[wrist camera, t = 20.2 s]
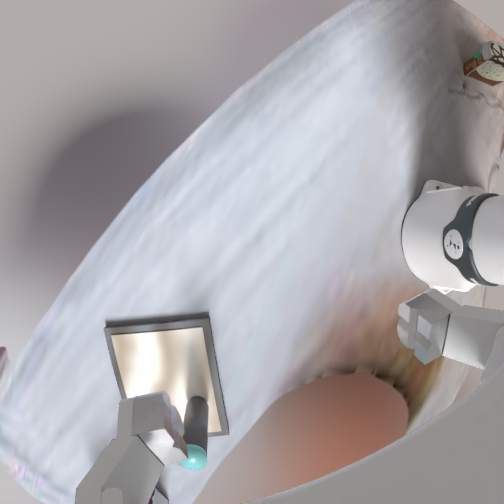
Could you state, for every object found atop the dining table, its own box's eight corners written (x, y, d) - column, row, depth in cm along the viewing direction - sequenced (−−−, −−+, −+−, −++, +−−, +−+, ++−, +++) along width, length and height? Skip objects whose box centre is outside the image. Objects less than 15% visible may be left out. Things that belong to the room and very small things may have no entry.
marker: (207, 393, 41) (203, 448, 28) (210, 411, 41) (209, 469, 28) (184, 395, 41) (174, 450, 28) (189, 413, 41) (180, 470, 28)
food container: (488, 65, 45) (515, 50, 35) (496, 89, 46) (525, 75, 36) (452, 50, 44) (480, 30, 34) (460, 74, 44) (490, 55, 34)
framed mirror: (208, 316, 42) (208, 319, 41) (228, 431, 43) (229, 435, 42) (106, 326, 40) (103, 328, 39) (136, 436, 42) (135, 440, 40)
